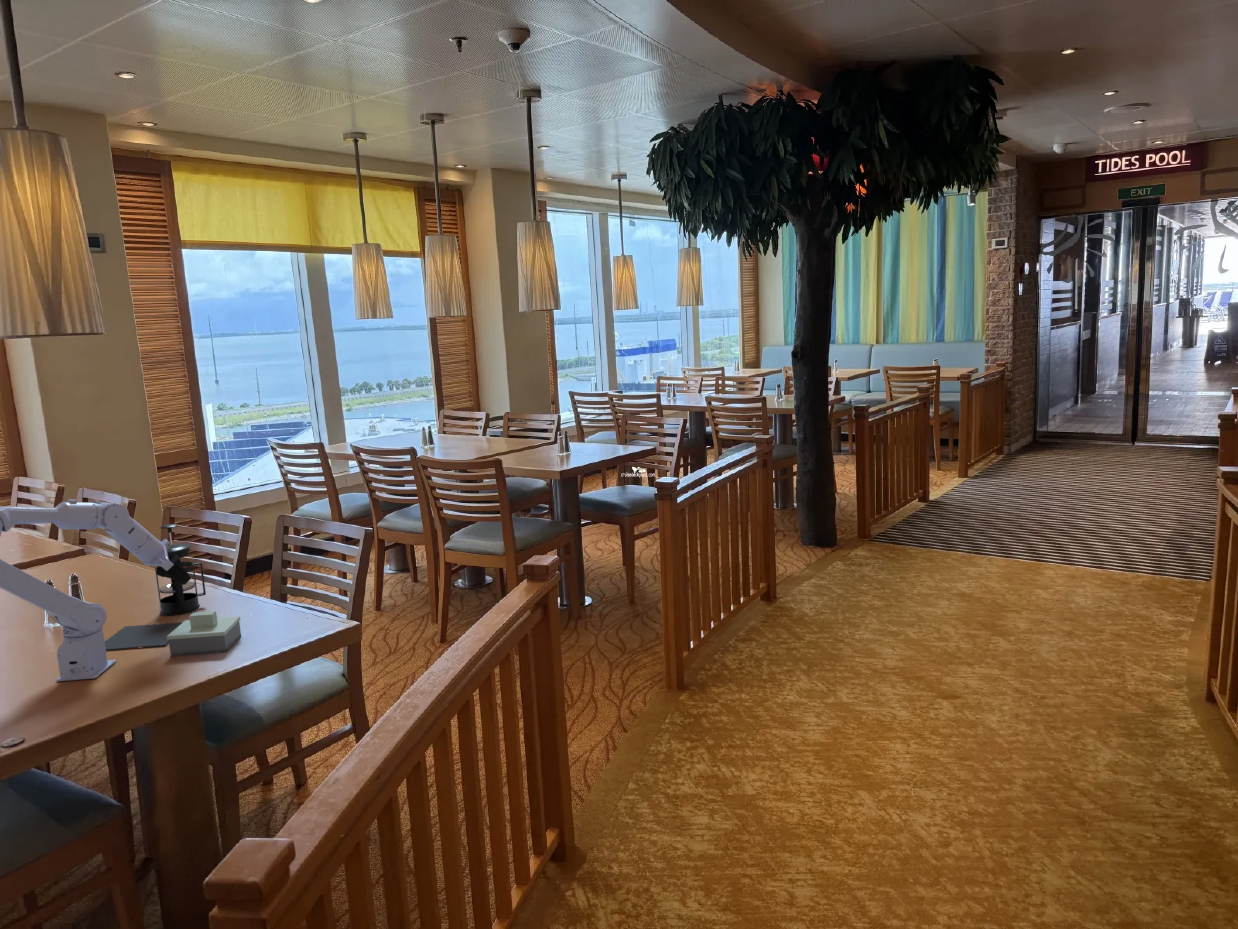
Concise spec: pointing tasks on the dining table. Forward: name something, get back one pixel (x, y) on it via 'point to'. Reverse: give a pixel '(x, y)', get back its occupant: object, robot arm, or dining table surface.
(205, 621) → the lid
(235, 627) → the tub
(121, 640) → the mat
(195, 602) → the french press
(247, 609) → the dining table surface
